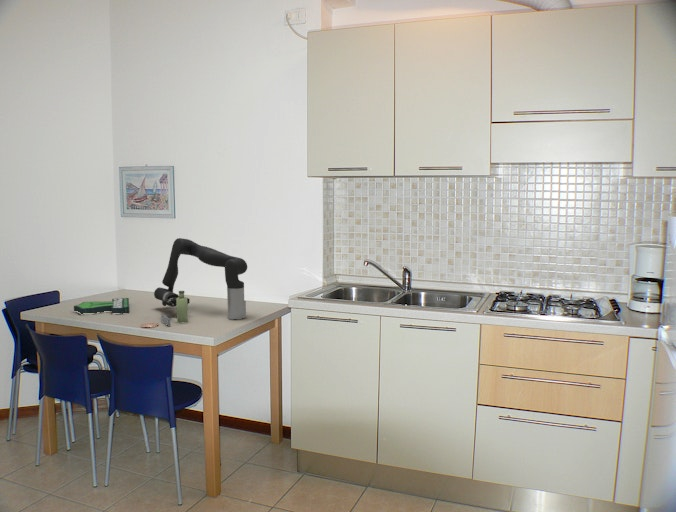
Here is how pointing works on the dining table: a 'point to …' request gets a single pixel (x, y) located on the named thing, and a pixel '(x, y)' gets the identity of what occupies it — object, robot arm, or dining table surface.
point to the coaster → (149, 325)
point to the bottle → (182, 308)
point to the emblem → (104, 306)
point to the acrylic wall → (165, 319)
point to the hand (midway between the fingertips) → (179, 303)
